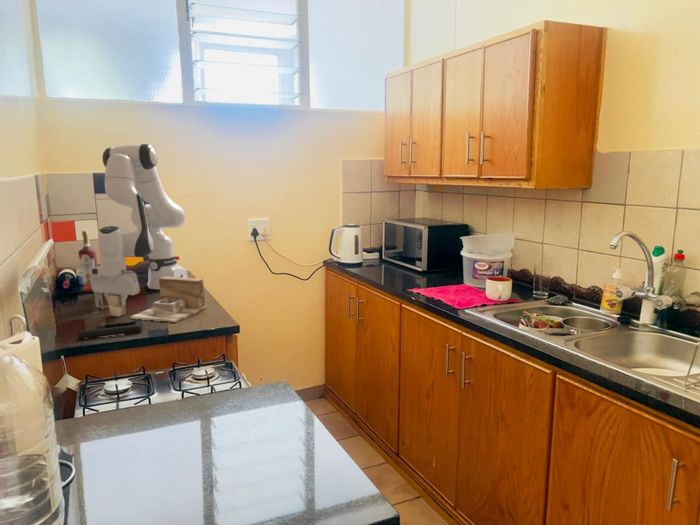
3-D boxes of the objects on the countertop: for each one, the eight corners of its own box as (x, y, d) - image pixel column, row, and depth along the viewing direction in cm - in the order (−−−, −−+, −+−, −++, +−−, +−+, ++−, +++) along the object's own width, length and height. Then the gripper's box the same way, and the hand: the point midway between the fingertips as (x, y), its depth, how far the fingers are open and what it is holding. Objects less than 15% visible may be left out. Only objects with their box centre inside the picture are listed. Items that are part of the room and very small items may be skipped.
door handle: (82, 322, 191) (77, 333, 176) (141, 316, 198) (141, 325, 183) (83, 331, 191) (78, 343, 176) (142, 324, 198) (142, 335, 184)
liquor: (102, 288, 250) (96, 230, 244) (97, 292, 243) (90, 232, 237) (86, 289, 249) (79, 230, 243) (80, 293, 242) (73, 232, 236)
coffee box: (116, 302, 226) (112, 265, 223) (124, 304, 222) (120, 266, 219) (95, 306, 219) (90, 268, 216) (103, 309, 215) (99, 270, 212)
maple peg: (117, 312, 208) (115, 293, 207) (126, 313, 207) (124, 293, 206) (110, 315, 205) (108, 295, 203) (118, 316, 204) (116, 296, 202)
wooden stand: (165, 304, 221) (163, 276, 218) (207, 308, 214) (205, 279, 212) (131, 318, 202) (128, 288, 199) (175, 323, 195) (172, 291, 193)
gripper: (141, 269, 202) (144, 304, 205) (98, 266, 209) (102, 300, 211) (129, 272, 196) (133, 308, 199) (86, 269, 203) (90, 304, 205)
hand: (117, 304), depth 205 cm, fingers closed on maple peg, 4 cm apart
